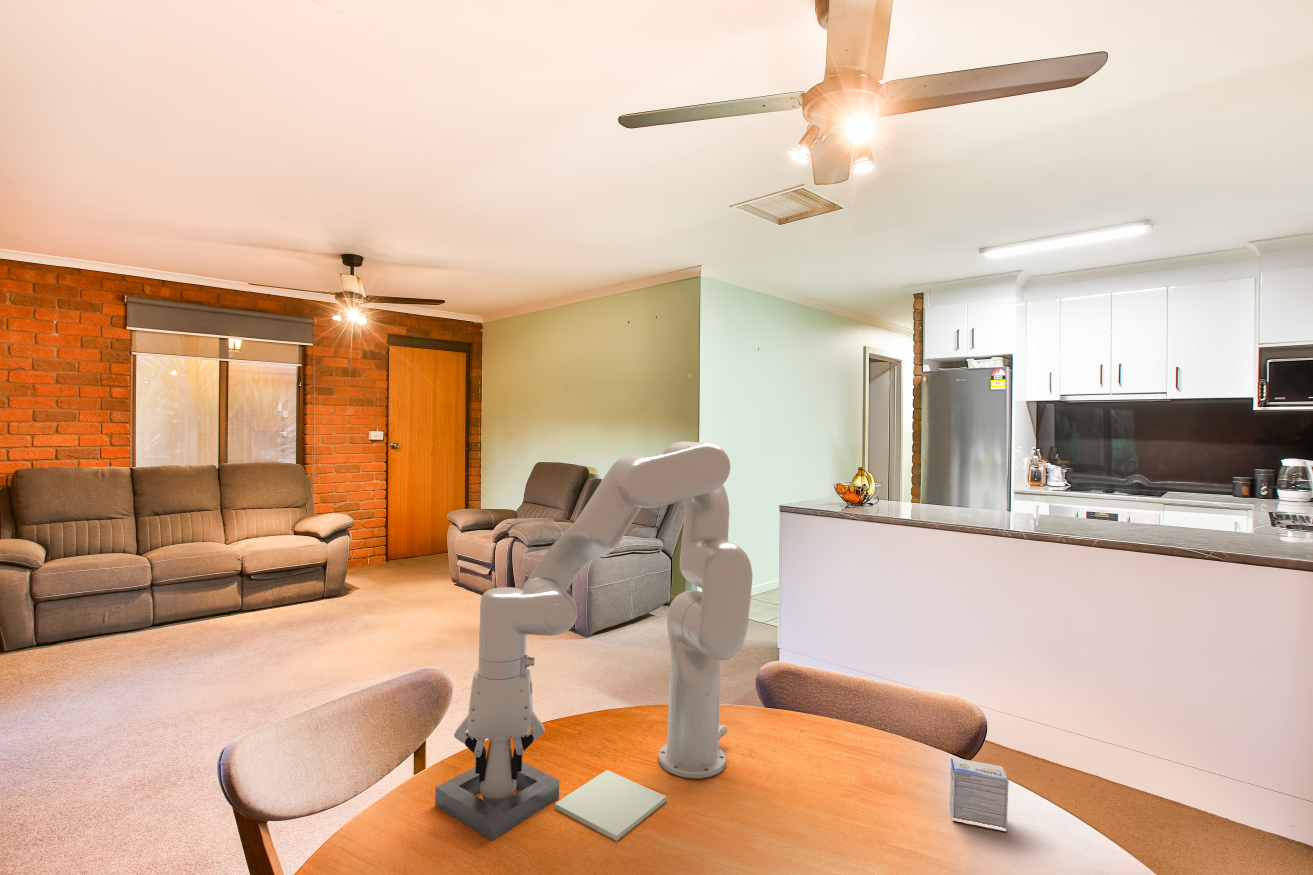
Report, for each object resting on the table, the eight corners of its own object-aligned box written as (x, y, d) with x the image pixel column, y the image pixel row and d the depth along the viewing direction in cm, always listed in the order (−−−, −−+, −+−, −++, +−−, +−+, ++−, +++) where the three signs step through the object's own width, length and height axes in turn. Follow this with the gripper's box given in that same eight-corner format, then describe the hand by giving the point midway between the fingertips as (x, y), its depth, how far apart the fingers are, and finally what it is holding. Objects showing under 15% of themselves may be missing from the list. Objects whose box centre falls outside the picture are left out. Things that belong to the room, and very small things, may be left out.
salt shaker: (506, 814, 98) (508, 733, 98) (473, 809, 99) (475, 728, 99) (521, 794, 104) (524, 716, 104) (490, 789, 105) (492, 712, 105)
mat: (606, 774, 111) (606, 769, 111) (666, 800, 103) (666, 796, 103) (554, 808, 100) (554, 803, 100) (616, 840, 93) (616, 835, 93)
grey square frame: (503, 769, 111) (503, 752, 111) (558, 797, 103) (559, 779, 103) (434, 805, 100) (435, 786, 100) (491, 840, 92) (492, 820, 92)
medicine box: (1001, 818, 101) (1003, 765, 101) (1007, 834, 97) (1009, 779, 97) (948, 807, 104) (950, 755, 104) (952, 822, 100) (953, 769, 100)
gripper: (554, 655, 107) (551, 761, 107) (452, 658, 104) (449, 766, 104) (554, 672, 99) (550, 785, 99) (444, 675, 96) (440, 792, 97)
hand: (498, 774), depth 102 cm, fingers open, 4 cm apart
